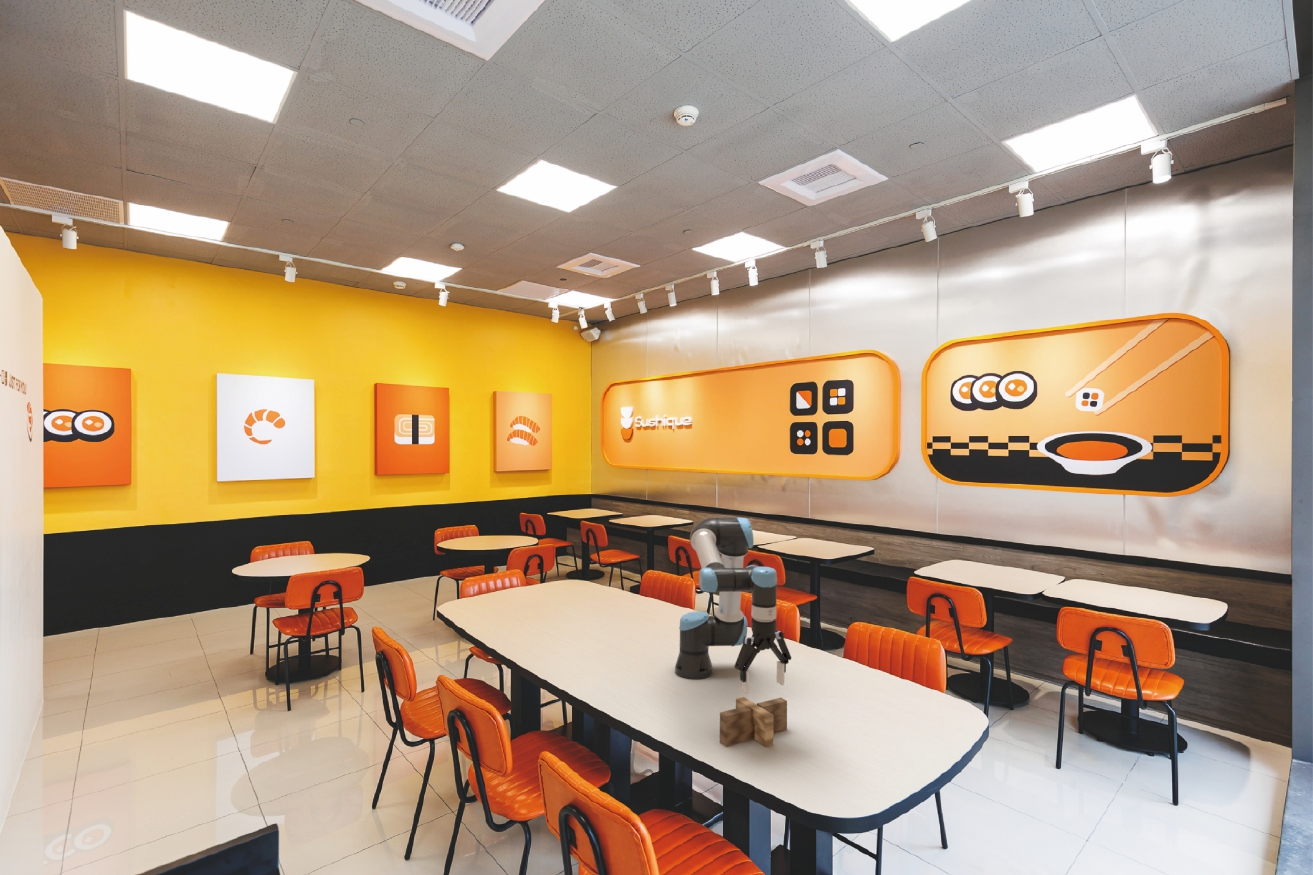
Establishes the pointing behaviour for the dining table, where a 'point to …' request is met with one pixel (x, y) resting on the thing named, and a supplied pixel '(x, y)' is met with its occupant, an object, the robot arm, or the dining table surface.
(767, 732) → the oak plate
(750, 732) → the walnut board
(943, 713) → the dining table surface
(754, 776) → the dining table surface
